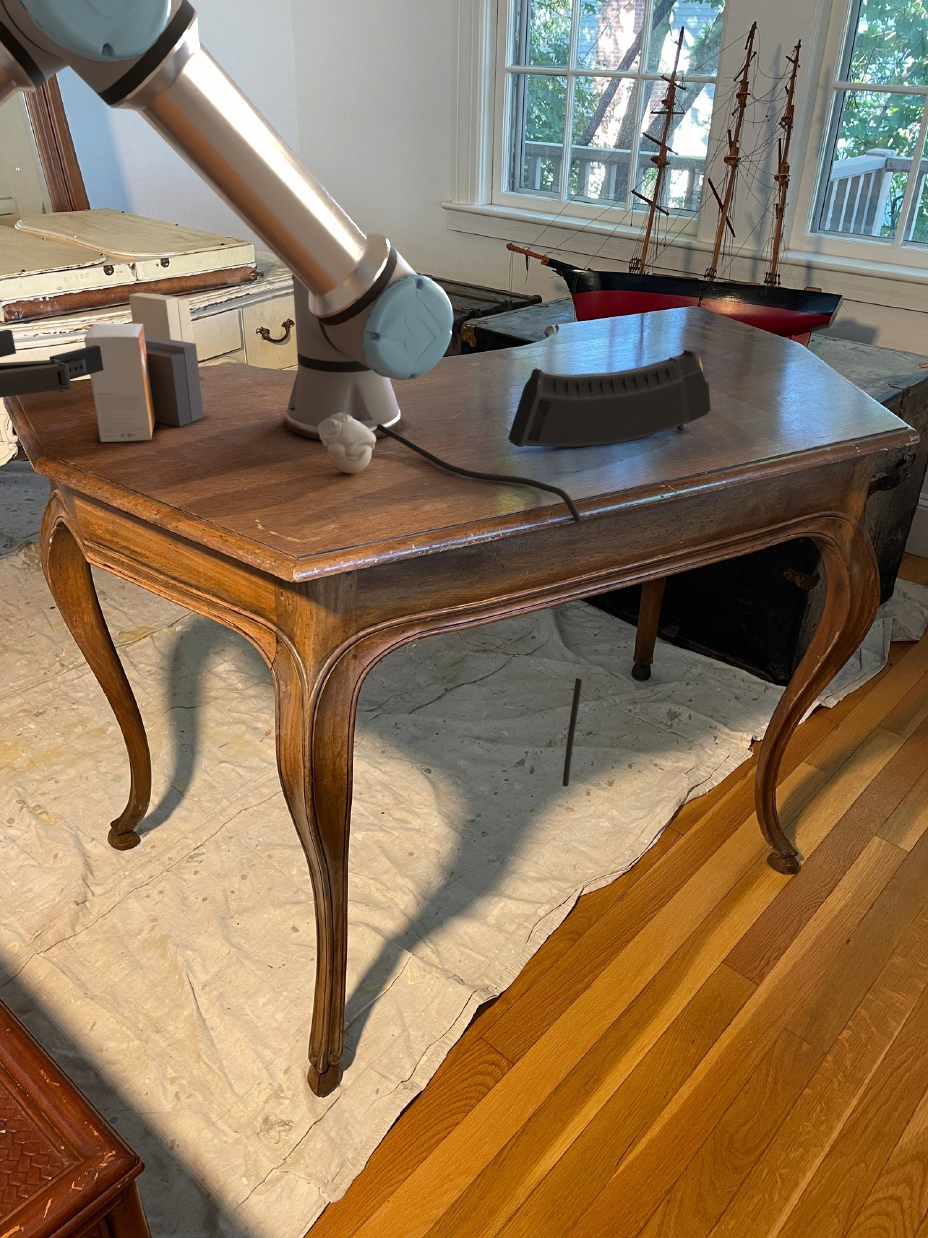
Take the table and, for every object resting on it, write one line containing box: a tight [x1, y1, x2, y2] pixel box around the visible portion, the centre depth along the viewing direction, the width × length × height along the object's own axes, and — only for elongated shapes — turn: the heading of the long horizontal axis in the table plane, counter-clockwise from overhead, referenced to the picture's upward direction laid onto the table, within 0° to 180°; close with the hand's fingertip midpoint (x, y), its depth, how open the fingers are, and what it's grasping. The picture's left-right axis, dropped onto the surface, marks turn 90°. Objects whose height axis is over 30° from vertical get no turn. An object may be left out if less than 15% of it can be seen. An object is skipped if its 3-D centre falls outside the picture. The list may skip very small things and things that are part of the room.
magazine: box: [507, 348, 712, 448], centre depth 121 cm, size 17×3×30 cm
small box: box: [83, 323, 156, 443], centre depth 116 cm, size 8×6×13 cm
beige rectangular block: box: [128, 292, 194, 343], centre depth 139 cm, size 7×5×12 cm
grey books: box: [145, 336, 205, 427], centre depth 123 cm, size 8×5×10 cm, turn 65°
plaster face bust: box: [318, 413, 377, 474], centre depth 108 cm, size 6×7×7 cm
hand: (54, 349), depth 106 cm, fingers open, 13 cm apart
